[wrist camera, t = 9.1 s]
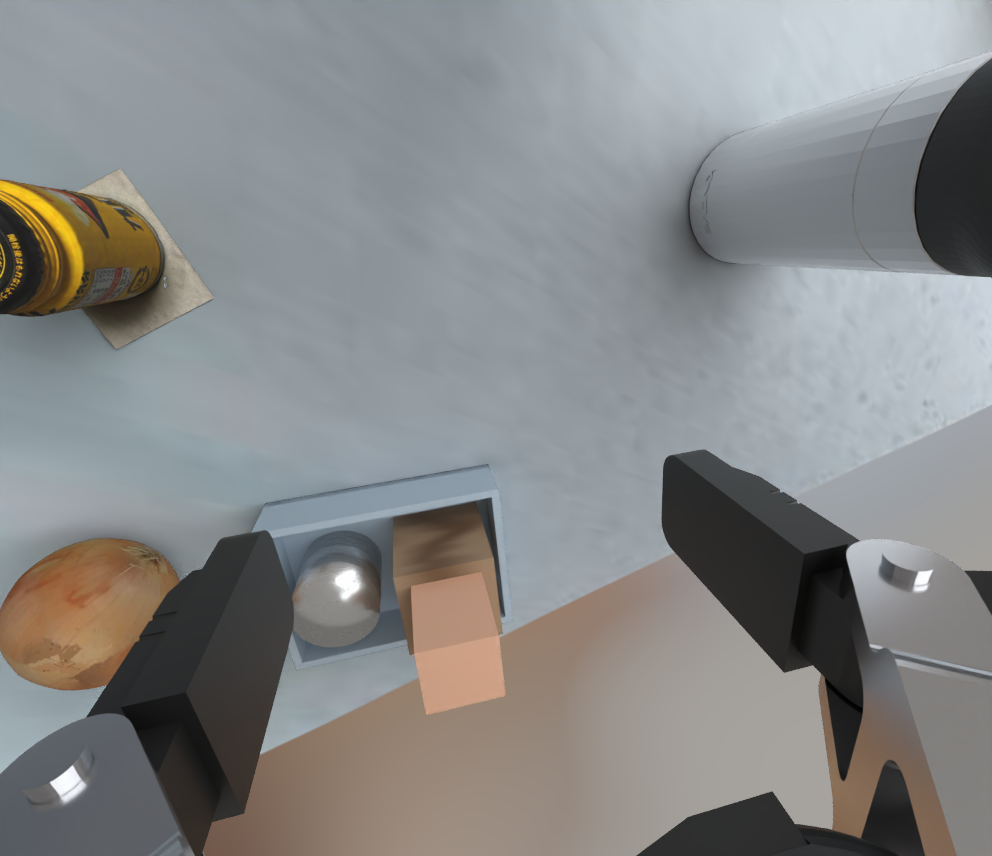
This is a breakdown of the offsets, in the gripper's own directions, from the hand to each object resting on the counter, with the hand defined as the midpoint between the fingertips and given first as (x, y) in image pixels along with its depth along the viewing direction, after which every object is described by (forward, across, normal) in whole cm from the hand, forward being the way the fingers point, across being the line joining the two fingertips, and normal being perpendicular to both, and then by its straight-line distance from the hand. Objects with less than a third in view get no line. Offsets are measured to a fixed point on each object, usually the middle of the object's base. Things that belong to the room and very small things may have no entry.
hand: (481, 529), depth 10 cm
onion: (+28, +25, +16) cm, 41 cm away
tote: (+28, +5, +19) cm, 34 cm away
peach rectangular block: (+19, +1, +19) cm, 27 cm away
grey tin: (+27, +10, +19) cm, 35 cm away
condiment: (+28, +18, -6) cm, 34 cm away
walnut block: (+27, +1, +19) cm, 33 cm away
